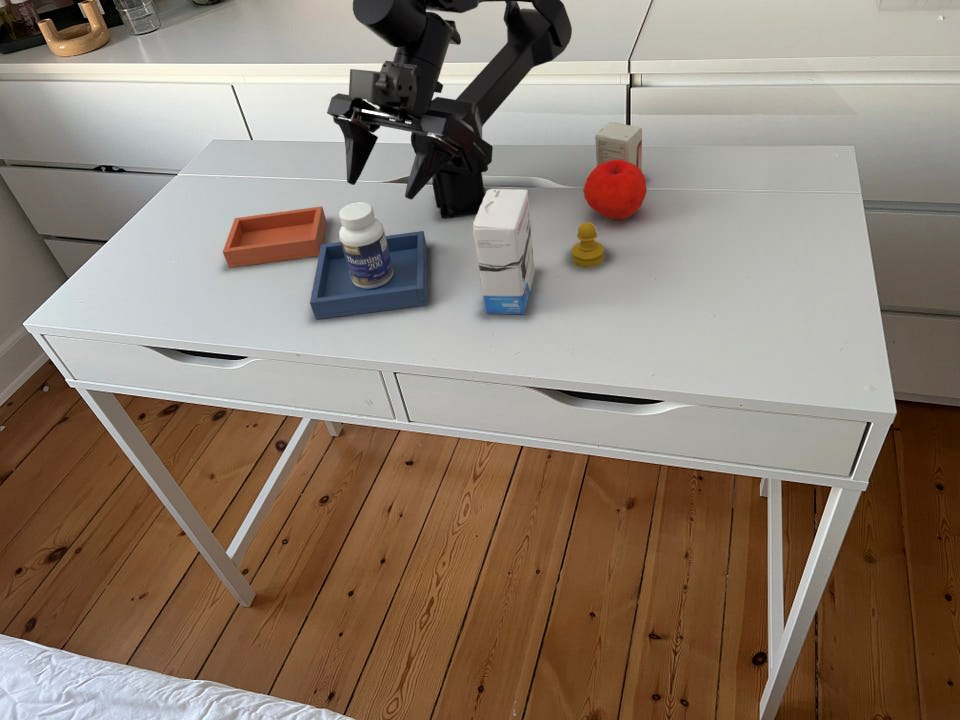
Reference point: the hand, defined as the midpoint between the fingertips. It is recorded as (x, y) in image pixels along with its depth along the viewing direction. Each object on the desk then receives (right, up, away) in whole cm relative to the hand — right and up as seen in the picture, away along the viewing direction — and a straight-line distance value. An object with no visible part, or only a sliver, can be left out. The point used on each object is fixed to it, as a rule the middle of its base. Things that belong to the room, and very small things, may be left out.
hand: (378, 191), depth 93 cm
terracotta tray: (-16, -4, +14) cm, 21 cm away
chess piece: (+26, -8, +3) cm, 27 cm away
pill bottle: (-1, -10, +4) cm, 11 cm away
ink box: (+16, -12, -1) cm, 20 cm away
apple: (+30, -1, +9) cm, 32 cm away
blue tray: (-1, -10, +4) cm, 11 cm away
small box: (+32, +4, +15) cm, 35 cm away
